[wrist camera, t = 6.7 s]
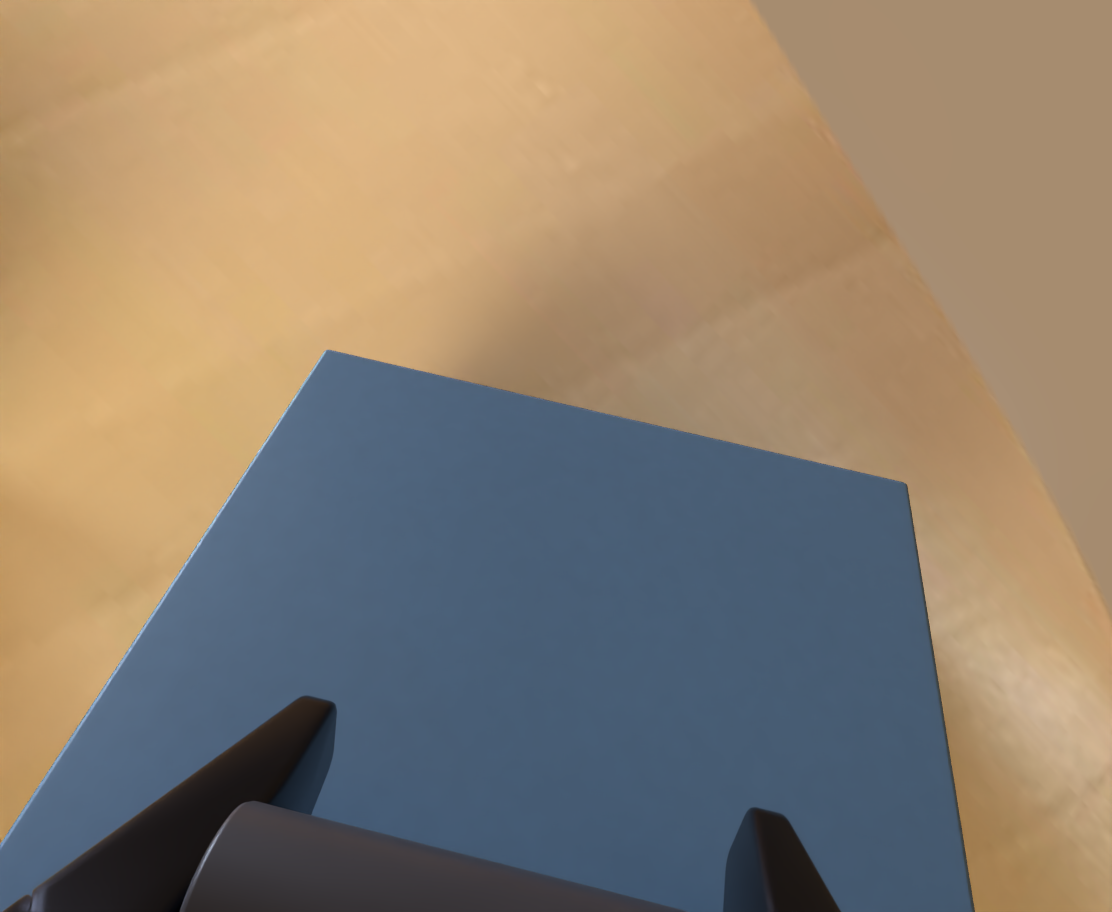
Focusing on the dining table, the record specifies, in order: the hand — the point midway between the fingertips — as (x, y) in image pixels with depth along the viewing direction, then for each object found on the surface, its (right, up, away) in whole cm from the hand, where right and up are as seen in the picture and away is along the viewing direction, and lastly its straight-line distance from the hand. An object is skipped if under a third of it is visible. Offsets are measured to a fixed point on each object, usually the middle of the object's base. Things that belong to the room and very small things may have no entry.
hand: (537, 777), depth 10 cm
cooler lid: (0, 0, +3) cm, 3 cm away
